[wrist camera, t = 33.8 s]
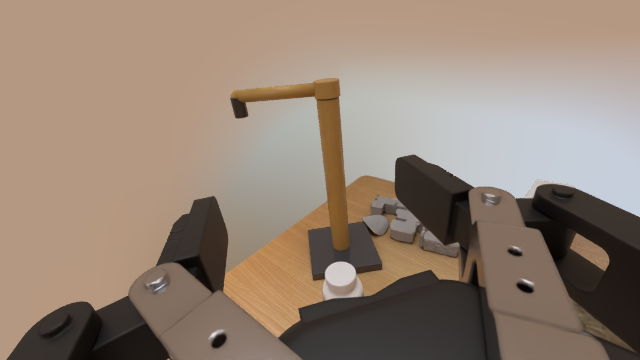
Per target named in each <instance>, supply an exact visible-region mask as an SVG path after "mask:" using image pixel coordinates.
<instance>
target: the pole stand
mask: <svg viewBox="0 0 640 360" xmlns="http://www.w3.org/2000/svg"><path fill="white" fill-rule="evenodd" d="M348 228H349V242H350V246H349V247H348V248H347V249H346V250H343V251H339V250H336V249H334V247H333V243H332V234H331V227H325V228H318V229H312V230H308V236H309V246H310V255H311V265H312V274H313V280H319V279H325V271H326V269H327V268H328V267H329V266H330V265H331V264H333V263H335V262H347V263H349V264H351V265H352V266H353V267H354V268H355V270H356V273H362V272H368V271H374V270H380V269H382V262H381V260H380V257H379V255H378V253H377V250H376V248H375V246H374V243H373V241H372V239H371V236H370V234H369V232H368V229H367V227H366V225H365V222H357V223H351V224H348Z"/></svg>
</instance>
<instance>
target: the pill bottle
mask: <svg viewBox="0 0 640 360" xmlns="http://www.w3.org/2000/svg"><path fill="white" fill-rule="evenodd" d="M322 291H323V298H324V301H326V300H329V299H333V298H348V297H364V296H363V286H362V283H361V281H360V279H359V278H358V277H357V276H356V270H355V268H354V267H353V266H352V265H351V264H349V263H347V262H335V263H333V264H331V265H330V266H329V267H328V268H327V269H326V271H325V281H324V284H323V288H322Z"/></svg>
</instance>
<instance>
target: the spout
mask: <svg viewBox="0 0 640 360" xmlns="http://www.w3.org/2000/svg"><path fill="white" fill-rule="evenodd" d="M314 96H315V99H332V98H336V97H339V96H340V86H339V79H338V78H330V79H329V78H328V79H321V80H316V81H314V82H313V83H309V84H298V85H287V86H277V87H267V88H256V89H246V90H236V91H233V92H232V93H231V98H230V99H231V103H232V107H233V111H234V115H235V118H244V117H247V116H248V112H247V107H246V103H245V102H256V101H266V100H267V101H268V100H279V99H290V98H302V97H314Z"/></svg>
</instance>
